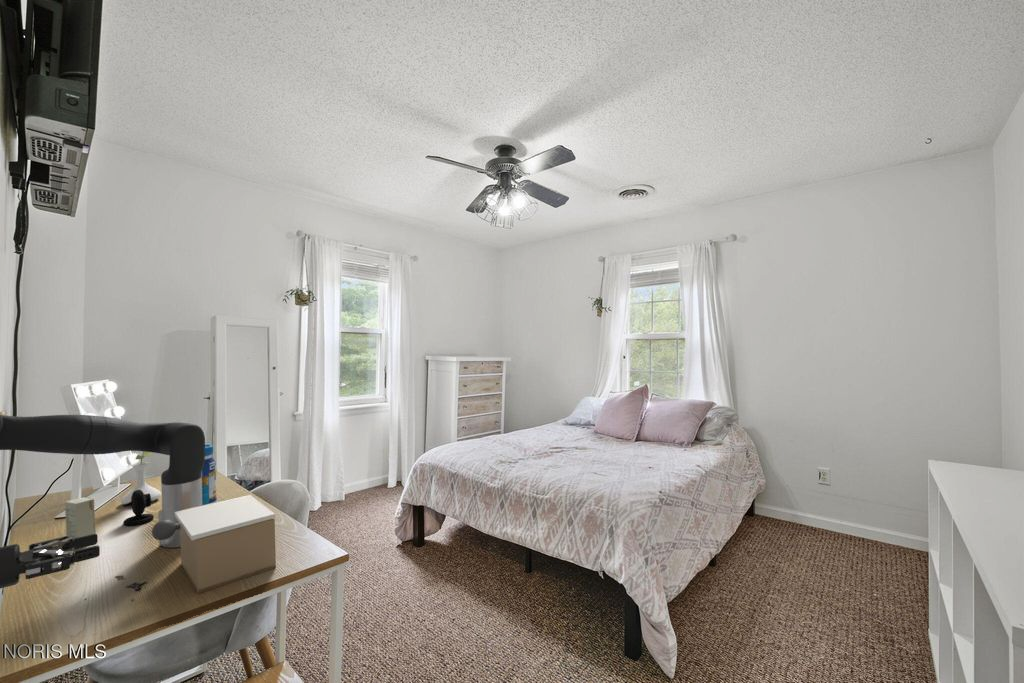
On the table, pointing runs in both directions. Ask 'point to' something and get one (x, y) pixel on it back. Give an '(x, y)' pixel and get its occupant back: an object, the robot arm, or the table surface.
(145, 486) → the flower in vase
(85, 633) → the table surface
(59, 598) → the table surface
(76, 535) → the skincare box
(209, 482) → the beverage bottle
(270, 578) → the table surface
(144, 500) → the webcam
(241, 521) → the white box lid
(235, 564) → the carton
